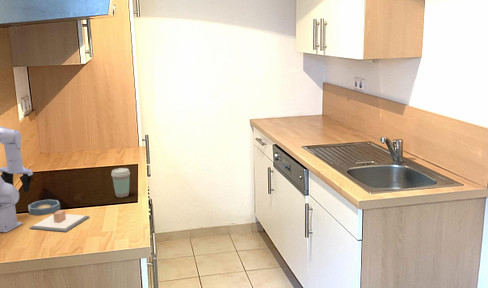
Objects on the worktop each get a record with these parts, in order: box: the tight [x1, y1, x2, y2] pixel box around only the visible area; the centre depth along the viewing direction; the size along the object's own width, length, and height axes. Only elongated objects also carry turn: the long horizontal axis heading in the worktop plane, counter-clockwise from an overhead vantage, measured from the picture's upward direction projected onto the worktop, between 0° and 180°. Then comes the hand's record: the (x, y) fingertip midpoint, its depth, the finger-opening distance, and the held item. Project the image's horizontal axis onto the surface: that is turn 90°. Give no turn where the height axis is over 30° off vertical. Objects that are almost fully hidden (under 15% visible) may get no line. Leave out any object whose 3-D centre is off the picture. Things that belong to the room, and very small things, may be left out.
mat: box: [29, 215, 90, 233], centre depth 199 cm, size 16×16×1 cm
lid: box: [32, 209, 87, 230], centre depth 198 cm, size 14×14×4 cm
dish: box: [27, 199, 61, 216], centre depth 214 cm, size 12×12×2 cm
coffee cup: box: [110, 167, 131, 198], centre depth 231 cm, size 8×8×12 cm
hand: (19, 190), depth 207 cm, fingers open, 7 cm apart
